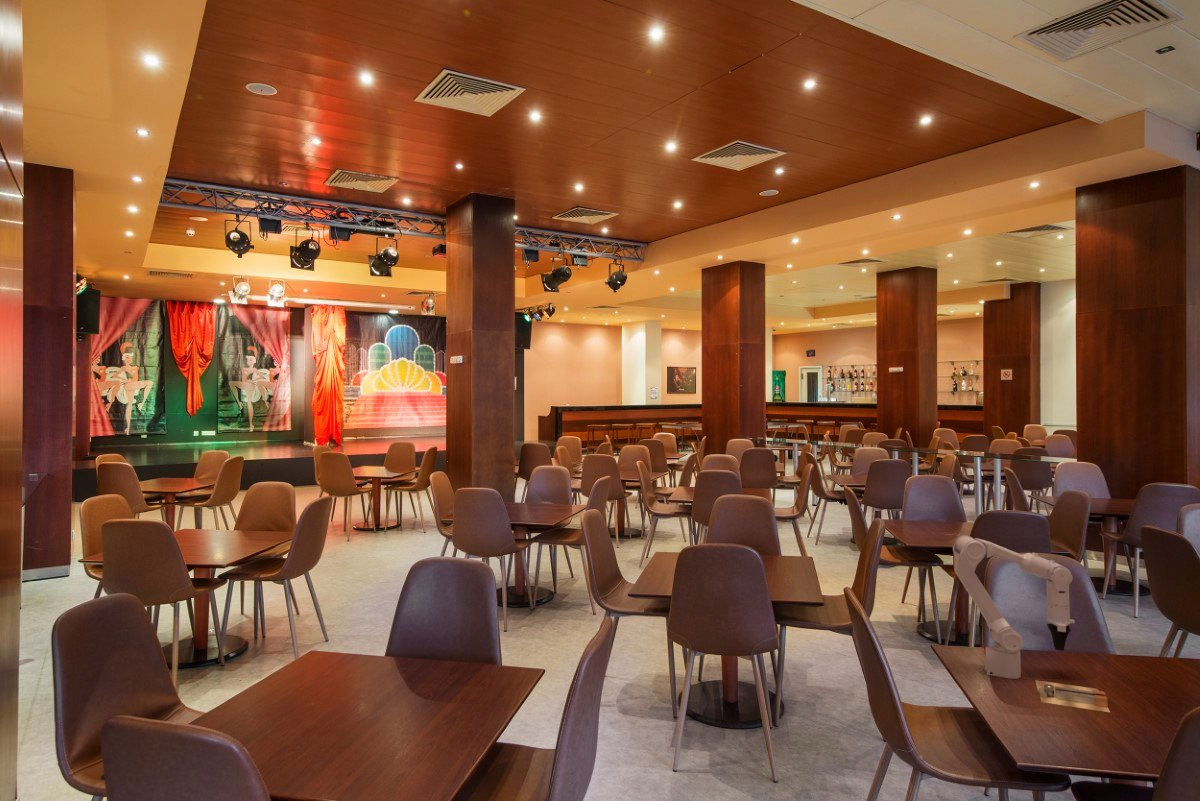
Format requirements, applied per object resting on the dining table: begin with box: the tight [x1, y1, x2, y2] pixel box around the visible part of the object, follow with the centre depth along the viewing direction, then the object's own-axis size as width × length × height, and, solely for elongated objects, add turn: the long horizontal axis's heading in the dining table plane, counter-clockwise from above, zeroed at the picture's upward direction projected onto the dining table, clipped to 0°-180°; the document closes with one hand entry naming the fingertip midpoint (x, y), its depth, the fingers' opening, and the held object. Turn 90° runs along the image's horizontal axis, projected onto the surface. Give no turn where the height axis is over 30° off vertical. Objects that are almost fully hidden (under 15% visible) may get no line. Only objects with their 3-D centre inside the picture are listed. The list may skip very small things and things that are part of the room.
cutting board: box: [1035, 679, 1111, 713], centre depth 196 cm, size 15×18×1 cm
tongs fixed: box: [1037, 684, 1109, 708], centre depth 193 cm, size 15×4×3 cm, turn 63°
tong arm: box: [1055, 686, 1106, 696], centre depth 193 cm, size 12×2×2 cm, turn 63°
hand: (1059, 649), depth 210 cm, fingers closed
